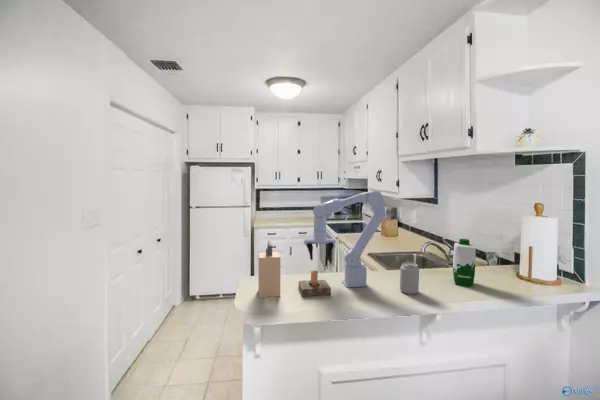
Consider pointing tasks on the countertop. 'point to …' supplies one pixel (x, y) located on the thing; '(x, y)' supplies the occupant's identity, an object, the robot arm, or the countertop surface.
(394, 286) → the countertop surface
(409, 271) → the can
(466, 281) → the milk carton
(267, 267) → the soap dispenser
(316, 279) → the pin
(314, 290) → the block
